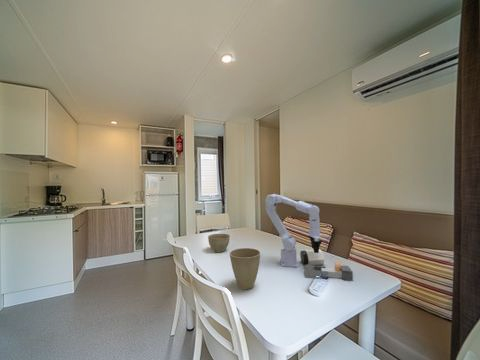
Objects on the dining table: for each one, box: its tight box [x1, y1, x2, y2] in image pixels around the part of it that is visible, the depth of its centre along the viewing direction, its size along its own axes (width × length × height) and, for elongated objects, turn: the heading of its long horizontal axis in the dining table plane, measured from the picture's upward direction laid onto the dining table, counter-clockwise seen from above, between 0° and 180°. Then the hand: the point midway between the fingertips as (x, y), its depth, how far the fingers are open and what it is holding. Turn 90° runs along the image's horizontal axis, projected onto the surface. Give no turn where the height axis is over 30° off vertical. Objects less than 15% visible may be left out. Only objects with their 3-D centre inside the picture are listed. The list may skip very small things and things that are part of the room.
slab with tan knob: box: [321, 261, 342, 279], centre depth 107 cm, size 13×4×7 cm, turn 78°
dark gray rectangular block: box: [341, 265, 354, 282], centre depth 106 cm, size 4×7×4 cm, turn 168°
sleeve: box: [303, 264, 328, 279], centre depth 109 cm, size 11×7×4 cm, turn 78°
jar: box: [299, 248, 325, 266], centre depth 125 cm, size 9×8×12 cm
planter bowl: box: [207, 233, 231, 253], centre depth 154 cm, size 16×16×11 cm
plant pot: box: [229, 247, 261, 290], centre depth 100 cm, size 15×15×16 cm
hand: (315, 250), depth 119 cm, fingers open, 7 cm apart
